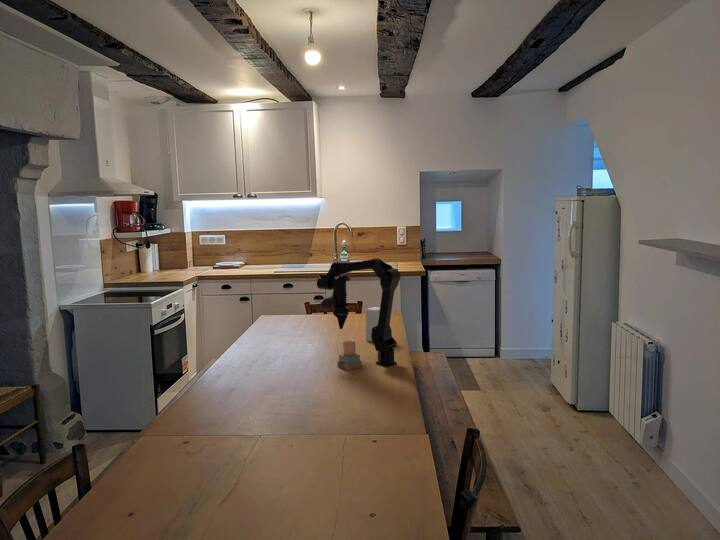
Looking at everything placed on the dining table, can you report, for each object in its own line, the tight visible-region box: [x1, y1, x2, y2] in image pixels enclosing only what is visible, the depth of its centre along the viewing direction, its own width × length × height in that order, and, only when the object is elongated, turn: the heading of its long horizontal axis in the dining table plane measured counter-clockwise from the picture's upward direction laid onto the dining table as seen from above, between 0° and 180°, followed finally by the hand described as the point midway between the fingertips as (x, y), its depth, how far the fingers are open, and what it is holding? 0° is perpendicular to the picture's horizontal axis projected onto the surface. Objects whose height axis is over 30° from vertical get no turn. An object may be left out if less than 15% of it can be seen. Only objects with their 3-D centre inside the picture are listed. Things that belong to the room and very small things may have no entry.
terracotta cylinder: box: [342, 340, 357, 356], centre depth 219 cm, size 5×5×5 cm
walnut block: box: [336, 359, 363, 371], centre depth 220 cm, size 7×7×3 cm
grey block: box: [338, 353, 361, 364], centre depth 219 cm, size 6×6×2 cm
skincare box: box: [365, 306, 380, 343], centre depth 259 cm, size 8×7×16 cm
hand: (340, 326), depth 234 cm, fingers open, 9 cm apart
